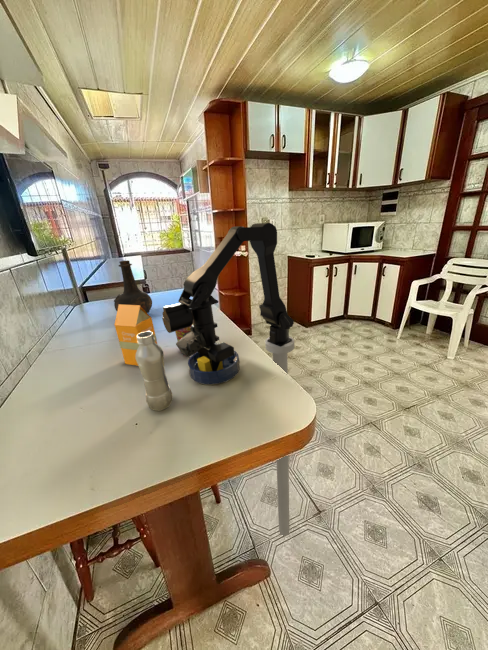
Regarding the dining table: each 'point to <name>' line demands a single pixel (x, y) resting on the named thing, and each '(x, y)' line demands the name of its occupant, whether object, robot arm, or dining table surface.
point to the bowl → (214, 377)
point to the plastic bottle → (153, 372)
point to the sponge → (206, 364)
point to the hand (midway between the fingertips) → (210, 369)
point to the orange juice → (131, 329)
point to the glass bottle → (131, 290)
